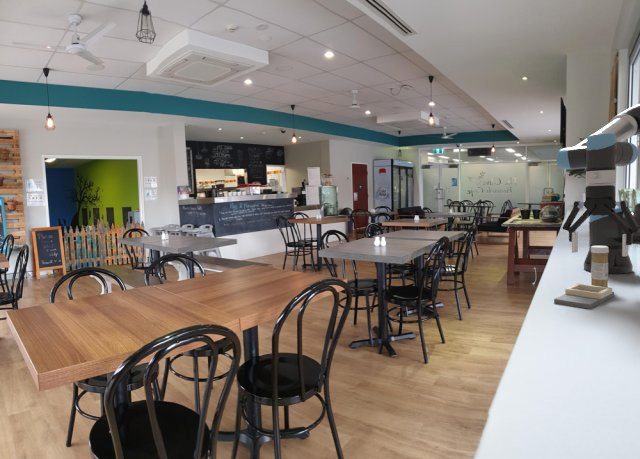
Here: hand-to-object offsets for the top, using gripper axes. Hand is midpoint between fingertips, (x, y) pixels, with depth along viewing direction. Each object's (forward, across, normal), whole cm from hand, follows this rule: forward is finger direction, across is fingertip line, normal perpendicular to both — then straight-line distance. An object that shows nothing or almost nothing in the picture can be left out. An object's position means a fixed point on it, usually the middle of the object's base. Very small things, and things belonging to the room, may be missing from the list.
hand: (598, 254), depth 129 cm
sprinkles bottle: (+11, 0, +1) cm, 11 cm away
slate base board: (+11, +2, -15) cm, 19 cm away
